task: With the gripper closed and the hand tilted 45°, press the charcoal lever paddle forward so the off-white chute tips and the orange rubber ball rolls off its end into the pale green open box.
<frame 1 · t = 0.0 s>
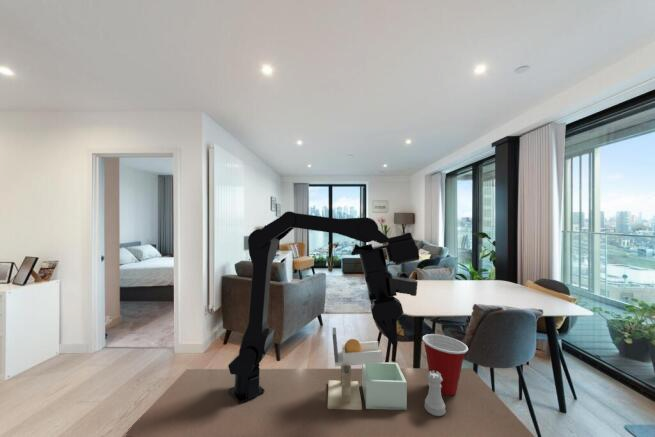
hand: (391, 336, 62), 15 cm above the table, tool pointing down, fingers open, 9 cm apart
rook chess piece: (434, 411, 60), on the table
pale green open box: (382, 396, 64), on the table
chute: (356, 343, 65), point 12 cm above the table, hinge at -6.0°, touching ball
plastic cup: (444, 389, 68), on the table
stand: (345, 395, 64), on the table
ball: (352, 347, 65), point 11 cm above the table, tilted 14°, touching chute
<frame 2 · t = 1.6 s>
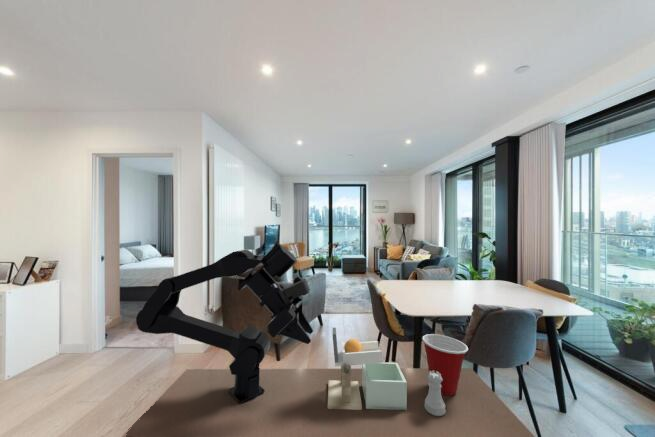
hand: (310, 337, 65), 14 cm above the table, tool tilted 45°, fingers open, 6 cm apart
nothing on the table moved.
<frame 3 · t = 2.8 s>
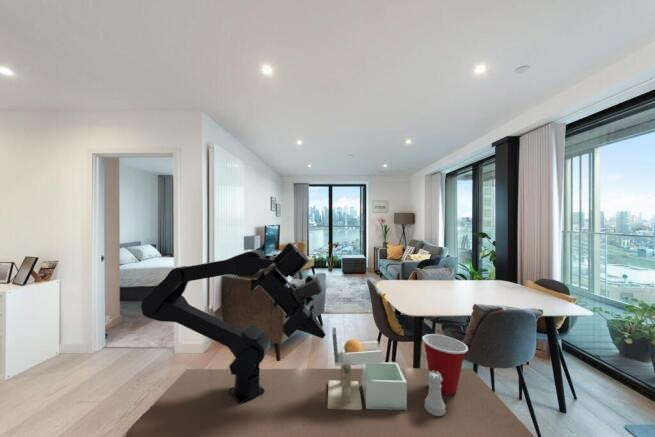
hand: (324, 336, 65), 14 cm above the table, tool tilted 45°, fingers closed
nothing on the table moved.
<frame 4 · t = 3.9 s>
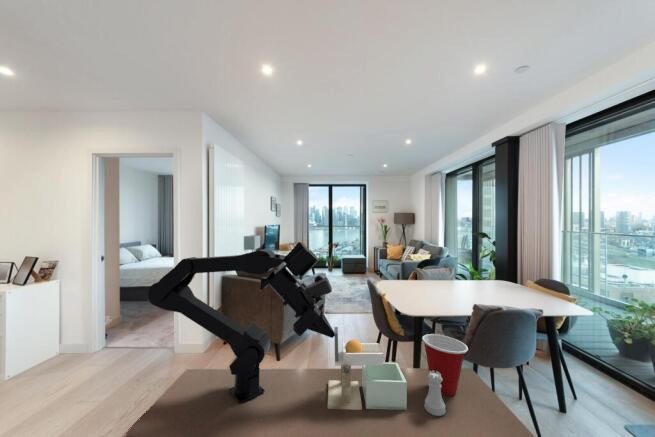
hand: (333, 336, 65), 14 cm above the table, tool tilted 45°, fingers closed, pressing on chute
chute: (357, 344, 65), point 12 cm above the table, hinge at -2.0°, touching ball, gripper
everything else where it was.
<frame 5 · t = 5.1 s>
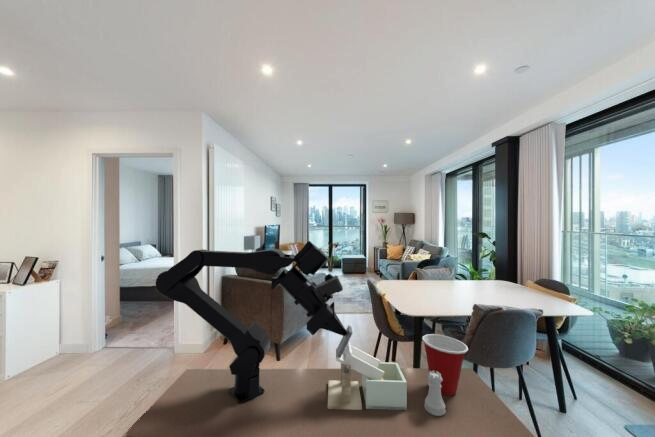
hand: (345, 334, 65), 15 cm above the table, tool tilted 45°, fingers closed, pressing on chute
chute: (363, 352, 65), point 10 cm above the table, hinge at 25.7°, touching gripper
ball: (377, 385, 64), point 3 cm above the table, tilted 128°, touching pale green open box
everything else where it was.
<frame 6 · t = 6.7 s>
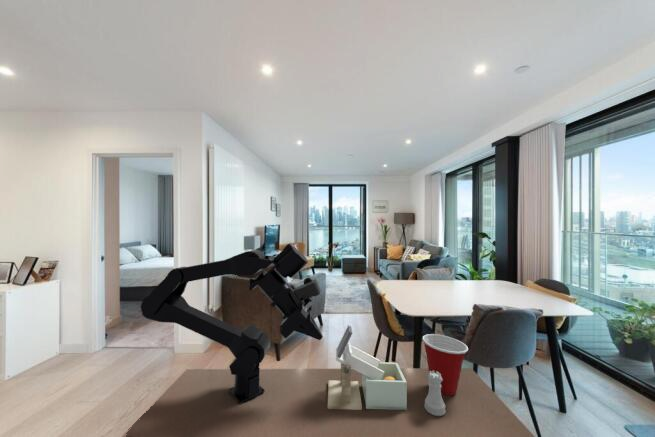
hand: (321, 338, 65), 13 cm above the table, tool tilted 45°, fingers closed
chute: (363, 352, 65), point 10 cm above the table, hinge at 25.4°
ball: (390, 386, 64), point 3 cm above the table, tilted 146°, touching pale green open box
everything else where it was.
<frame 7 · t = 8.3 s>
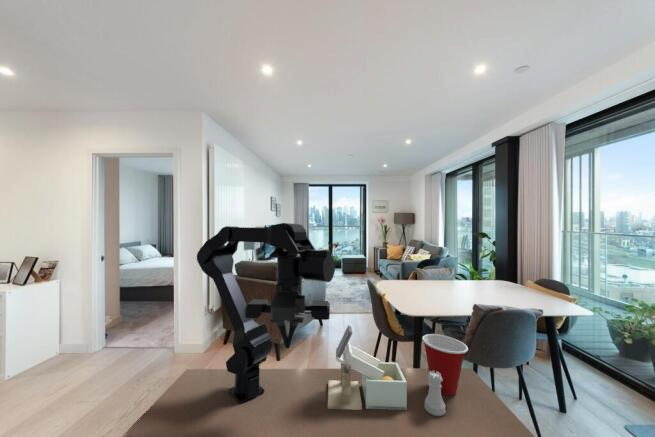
hand: (287, 347, 61), 13 cm above the table, tool pointing down, fingers closed
ball: (387, 385, 64), point 3 cm above the table, tilted 165°, touching pale green open box
everything else where it was.
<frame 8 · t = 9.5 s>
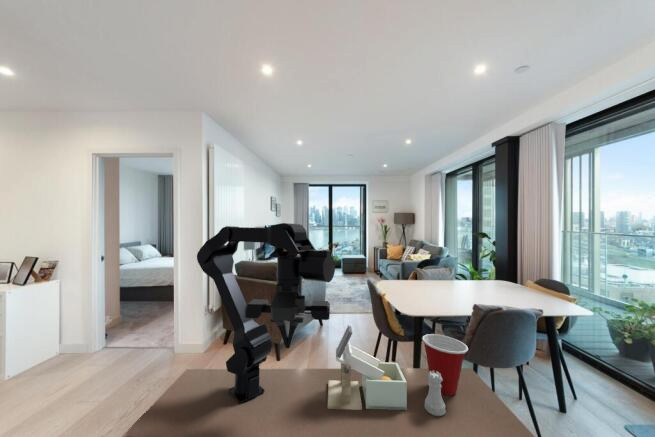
hand: (287, 347, 61), 13 cm above the table, tool pointing down, fingers closed
ball: (385, 385, 64), point 3 cm above the table, tilted 178°, touching pale green open box
everything else where it was.
at the end: ball 0.7 cm off-centre on the pale green open box, point 2.6 cm above the pale green open box's base; chute at +25° (first picture: -6°) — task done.
